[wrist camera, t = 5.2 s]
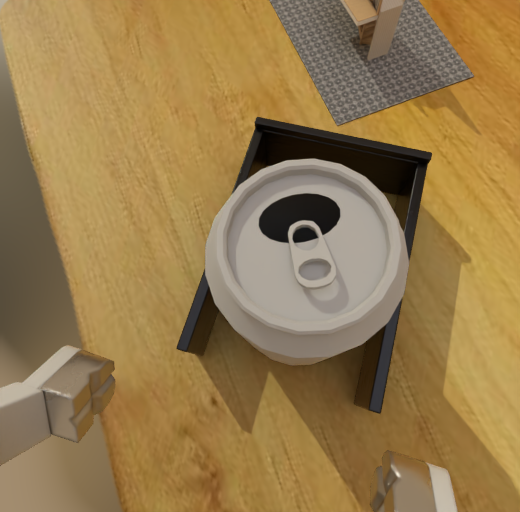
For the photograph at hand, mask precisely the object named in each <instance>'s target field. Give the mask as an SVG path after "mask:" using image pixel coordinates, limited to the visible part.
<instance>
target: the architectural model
mask: <svg viewBox="0 0 520 512" xmlns="http://www.w3.org/2000/svg"><path fill="white" fill-rule="evenodd" d="M270 2H271V4H272V5H273V7H274V9H275V11H276V13H277V15H278V17H279V18H280V20H281V22H282V24H283V26H284V28H285V29H286V31H287V33H288V35H289V37H290V39H291V41H292V42H293V44H294V46H295V48H296V50H297V52H298V54H299V55H300V57H301V59H302V61H303V63H304V65H305V67H306V68H307V70H308V72H309V74H310V76H311V78H312V80H313V81H314V83H315V85H316V87H317V89H318V91H319V93H320V94H321V96H322V98H323V100H324V102H325V104H326V106H327V107H328V109H329V111H330V113H331V115H332V117H333V119H334V120H335V122H336V124H337V125H340V124H342V123H345V122H348V121H351V120H354V119H356V118H359V117H362V116H365V115H367V114H370V113H373V112H376V111H379V110H381V109H384V108H387V107H390V106H392V105H395V104H398V103H401V102H403V101H406V100H409V99H412V98H415V97H417V96H420V95H423V94H426V93H428V92H431V91H434V90H437V89H440V88H442V87H445V86H448V85H451V84H453V83H456V82H459V81H462V80H465V79H467V78H470V77H473V76H474V75H473V74H472V72H471V71H470V70H469V68H468V67H467V66H466V64H465V63H464V62H463V60H462V59H461V57H460V56H459V55H458V53H457V52H456V51H455V49H454V48H453V47H452V45H451V44H450V43H449V41H448V40H447V38H446V37H445V36H444V34H443V33H442V32H441V30H440V29H439V28H438V26H437V25H436V24H435V22H434V21H433V19H432V18H431V17H430V15H429V14H428V13H427V11H426V10H425V9H424V7H423V6H422V4H421V3H420V2H419V0H270Z"/></svg>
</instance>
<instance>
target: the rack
mask: <svg viewBox="0 0 520 512" xmlns="http://www.w3.org/2000/svg"><path fill="white" fill-rule="evenodd" d="M431 156H432V153H431V152H426V151H421V150H416V149H411V148H406V147H402V146H397V145H392V144H387V143H382V142H377V141H372V140H367V139H363V138H358V137H353V136H348V135H343V134H338V133H333V132H329V131H324V130H319V129H314V128H309V127H304V126H299V125H295V124H290V123H285V122H280V121H275V120H270V119H265V118H261V117H257V118H256V120H255V130H254V133H253V136H252V139H251V142H250V144H249V147H248V150H247V153H246V155H245V158H244V161H243V164H242V167H241V169H240V172H239V175H238V178H237V181H236V183H235V186H234V189H233V192H232V194H233V193H234V192H235V190H236V189H237V188H238V186H239V185H240V184H242V183H243V182H244V181H246V180H247V179H249V178H250V177H251V176H253V175H254V174H255V173H257V172H258V171H260V170H261V169H264V168H266V167H267V165H268V166H272V165H275V164H278V163H281V162H283V161H286V160H300V159H318V160H323V161H328V162H333V163H338V164H342V165H344V166H346V167H347V168H349V169H351V170H353V171H355V172H357V173H359V174H361V175H363V176H365V177H366V178H367V179H368V180H369V181H370V182H371V183H372V184H373V185H374V186H376V187H377V188H378V189H379V190H380V191H383V192H387V193H392V194H396V195H398V196H397V201H396V206H395V210H394V213H395V214H396V216H397V218H398V220H399V224H400V226H401V228H402V230H403V232H404V236H405V242H406V247H407V253H408V259H409V261H410V255H411V250H412V245H413V239H414V234H415V229H416V223H417V218H418V213H419V208H420V202H421V197H422V192H423V186H424V181H425V176H426V170H427V165H428V163H429V162H430V160H431ZM232 194H231V195H232ZM402 298H403V297H402ZM401 303H402V299H401V300H400V302H399V304H398V306H397V308H396V309H395V311H394V313H393V315H392V316H391V318H390V320H389V322H388V323H387V324H386V325H384V326H383V327H382V328H381V329H380V330H379V331H377V332H376V333H375V334H374V335H373V336H372V337H370V338H369V339H368V340H367V344H366V349H365V353H364V358H363V363H362V368H361V372H360V377H359V382H358V387H357V391H356V396H355V401H354V404H355V405H357V406H360V407H362V408H365V409H367V410H369V411H373V412H376V413H379V414H380V413H381V409H382V404H383V399H384V393H385V388H386V383H387V377H388V372H389V367H390V361H391V356H392V351H393V346H394V340H395V335H396V330H397V324H398V319H399V314H400V308H401ZM218 310H219V309H218V307H217V306H216V305H215V303H214V300H213V296H212V293H211V290H210V287H209V284H208V281H207V278H206V275H205V270H204V273H203V275H202V278H201V281H200V284H199V287H198V289H197V292H196V295H195V298H194V300H193V303H192V306H191V309H190V312H189V314H188V317H187V320H186V323H185V326H184V328H183V331H182V334H181V337H180V340H179V342H178V345H177V349H178V350H181V351H184V352H188V353H192V354H197V355H201V356H203V354H204V351H205V348H206V345H207V342H208V339H209V336H210V333H211V330H212V327H213V324H214V321H215V319H216V316H217V313H218Z"/></svg>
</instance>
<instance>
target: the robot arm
mask: <svg viewBox="0 0 520 512" xmlns="http://www.w3.org/2000/svg"><path fill="white" fill-rule="evenodd" d="M114 370H115V367H114V361H112V360H109V359H106V358H104V357H101V356H98V355H95V354H92V353H90V352H87V351H84V350H81V349H78V348H75V347H72V346H69V345H67V346H64V347H62V348H61V349H59V350H58V351H57V352H56V353H55V354H54V355H53V356H52V357H50V358H49V359H48V360H47V361H46V362H45V363H44V364H43V365H42V366H40V367H39V368H38V369H37V370H36V371H35V372H34V373H33V374H32V375H30V376H29V377H28V378H27V379H26V380H25V381H24V382H23V383H20V382H15V383H12V384H10V385H7V386H4V387H2V388H0V466H1V465H2V464H4V463H6V462H7V461H9V460H11V459H12V458H14V457H16V456H17V455H19V454H21V453H23V452H25V451H26V450H28V449H30V448H31V447H33V446H35V445H36V444H38V443H40V442H41V441H43V440H45V439H47V438H49V437H50V436H51V434H52V435H55V436H58V437H61V438H64V439H68V440H70V441H73V442H76V443H78V442H79V441H80V440H81V439H82V437H83V436H84V435H85V434H86V432H87V431H88V430H89V428H90V427H91V426H92V424H93V416H94V415H96V414H98V413H100V412H102V411H103V410H104V409H105V408H106V406H107V405H108V404H109V402H110V400H111V398H112V396H113V394H114V390H115V379H114V377H113V376H112V375H111V373H112V372H113V371H114ZM370 506H371V507H372V509H373V511H374V512H458V510H457V506H456V501H455V497H454V493H453V488H452V484H451V479H450V475H449V473H448V471H447V469H444V468H441V467H438V466H435V465H432V464H429V463H425V462H424V461H421V460H418V459H415V458H412V457H408V456H405V455H402V454H399V453H396V452H392V451H389V450H387V451H386V452H385V453H384V455H383V457H382V466H380V467H377V468H376V470H375V473H374V475H373V478H372V482H371V489H370Z"/></svg>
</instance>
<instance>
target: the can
mask: <svg viewBox="0 0 520 512" xmlns="http://www.w3.org/2000/svg"><path fill="white" fill-rule="evenodd" d="M408 268H409V259H408V253H407V247H406V242H405V236H404V232H403V230H402V228H401V226H400V224H399V220H398V218H397V216H396V214H395V213H394V211H393V209H392V207H391V205H390V203H389V202H388V200H387V198H386V196H385V195H384V194H383V193H382V192H381V191H380V190H379V189H378V188H377V187H376V186H374V185H373V184H372V183H371V182H370V181H369V180H368V179H367V178H366V177H365V176H363V175H361V174H359V173H357V172H355V171H353V170H351V169H349V168H347V167H346V166H344V165H342V164H338V163H333V162H328V161H323V160H318V159H300V160H286V161H283V162H281V163H278V164H275V165H272V166H269V167H267V168H264V169H261V170H260V171H258V172H257V173H255V174H254V175H253V176H251V177H250V178H249V179H247V180H246V181H244V182H243V183H242V184H240V185H239V186H238V188H237V189H236V190H235V192H234V193H233V194H232V195H231V196H230V198H229V199H228V200H227V202H226V203H225V204H224V206H223V207H222V208H221V210H220V211H219V212H218V214H217V215H216V216H215V219H214V222H213V224H212V227H211V230H210V233H209V236H208V239H207V242H206V248H205V275H206V278H207V281H208V284H209V287H210V290H211V293H212V296H213V300H214V303H215V305H216V306H217V307H218V309H219V310H220V311H221V312H222V314H223V315H224V316H225V318H226V319H227V320H228V322H229V323H230V324H231V326H232V327H233V328H234V330H235V331H237V332H238V333H239V334H240V335H241V336H242V337H243V338H244V339H245V340H247V341H248V342H249V343H250V344H251V345H252V346H253V347H254V348H255V349H257V350H258V351H260V352H261V353H263V354H264V355H266V356H267V357H268V358H270V359H271V360H274V361H277V362H281V363H284V364H288V365H291V366H293V365H312V364H315V363H317V362H320V361H323V360H325V359H328V358H330V357H333V356H335V355H338V354H340V353H342V352H345V351H347V350H350V349H352V348H355V347H357V346H360V345H362V344H363V343H365V342H366V341H367V340H368V339H369V338H370V337H372V336H373V335H374V334H375V333H376V332H377V331H379V330H380V329H381V328H382V327H383V326H384V325H386V324H387V323H388V322H389V320H390V318H391V316H392V315H393V313H394V311H395V309H396V308H397V306H398V304H399V302H400V300H401V299H402V297H403V295H404V291H405V286H406V280H407V274H408Z"/></svg>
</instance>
